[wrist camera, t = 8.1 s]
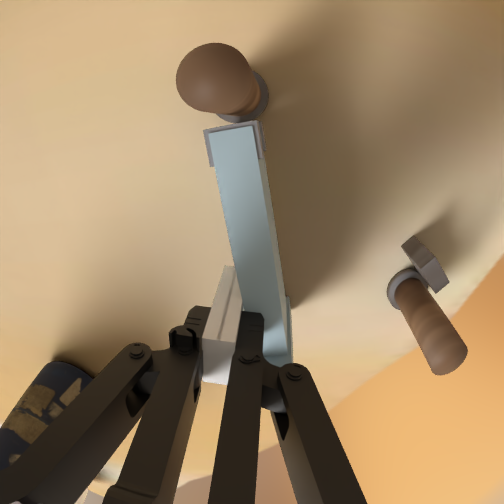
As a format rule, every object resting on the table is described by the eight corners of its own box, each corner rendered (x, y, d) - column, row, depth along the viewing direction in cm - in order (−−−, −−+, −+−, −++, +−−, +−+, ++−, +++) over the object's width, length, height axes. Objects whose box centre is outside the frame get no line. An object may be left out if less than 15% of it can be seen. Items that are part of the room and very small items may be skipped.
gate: (226, 127, 17) (192, 131, 10) (262, 121, 17) (253, 119, 10) (261, 315, 22) (253, 393, 15) (291, 312, 22) (294, 390, 15)
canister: (131, 404, 29) (75, 538, 13) (90, 415, 32) (40, 521, 15) (68, 344, 26) (-20, 476, 10) (37, 365, 29) (-32, 468, 13)
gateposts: (199, 97, 17) (147, 82, 9) (251, 48, 15) (233, 0, 8) (398, 313, 22) (434, 388, 14) (440, 279, 20) (491, 344, 13)
